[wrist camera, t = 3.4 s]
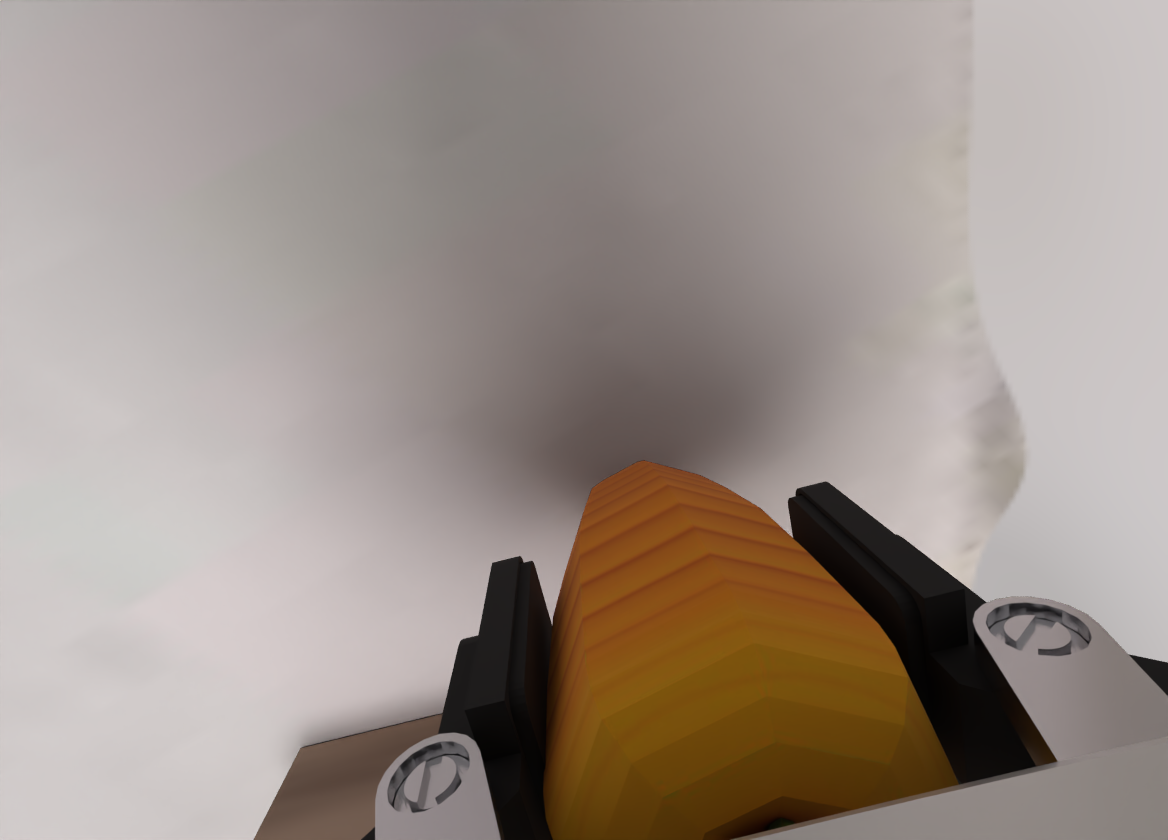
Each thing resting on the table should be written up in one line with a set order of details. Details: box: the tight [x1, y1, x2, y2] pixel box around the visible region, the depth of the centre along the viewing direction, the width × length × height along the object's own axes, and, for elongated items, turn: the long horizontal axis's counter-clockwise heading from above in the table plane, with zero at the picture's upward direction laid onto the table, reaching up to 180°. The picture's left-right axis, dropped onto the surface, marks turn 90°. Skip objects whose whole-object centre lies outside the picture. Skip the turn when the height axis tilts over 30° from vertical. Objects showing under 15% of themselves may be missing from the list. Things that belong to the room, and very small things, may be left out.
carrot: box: [543, 461, 959, 840], centre depth 10 cm, size 5×5×15 cm
